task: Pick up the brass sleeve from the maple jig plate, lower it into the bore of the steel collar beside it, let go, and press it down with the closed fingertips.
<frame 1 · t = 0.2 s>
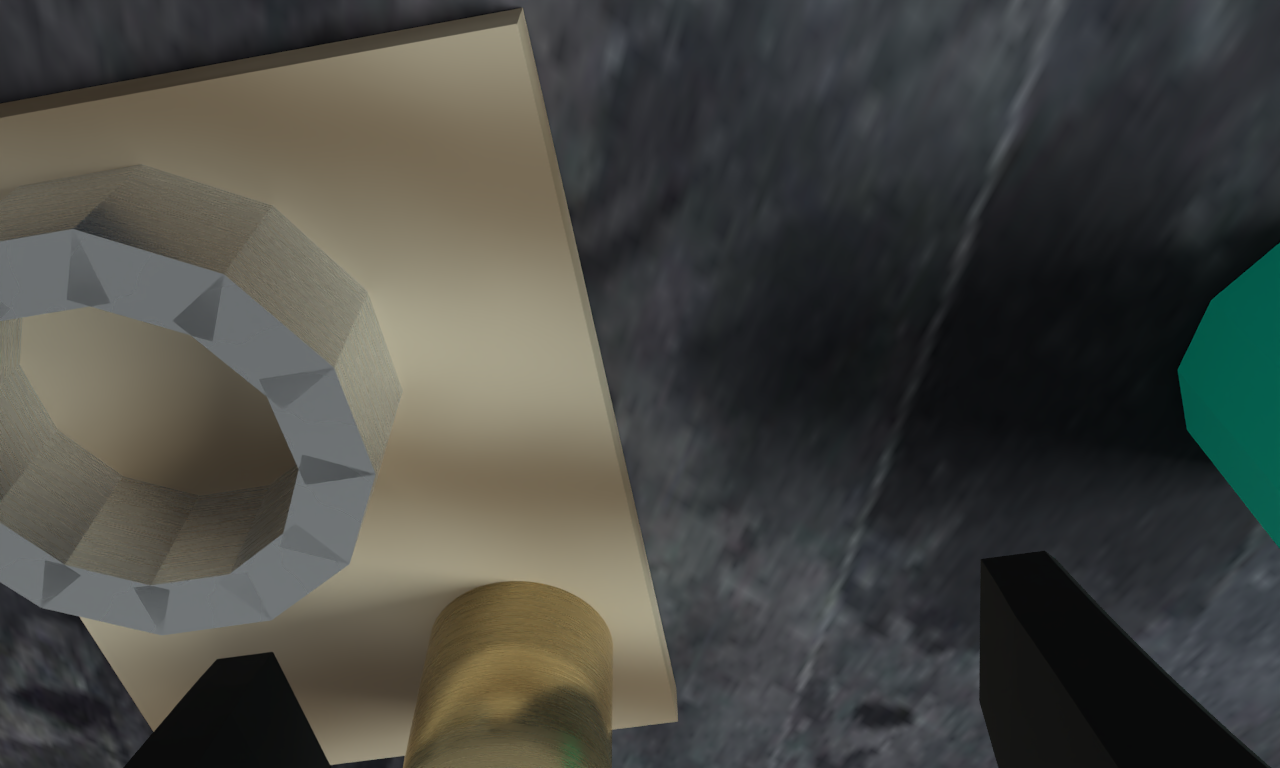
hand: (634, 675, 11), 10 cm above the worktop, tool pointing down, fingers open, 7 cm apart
brass sleeve: (521, 648, 23), point 1 cm above the worktop, touching jig plate
jig plate: (325, 460, 21), on the worktop
bore collar: (197, 347, 20), resting on jig plate
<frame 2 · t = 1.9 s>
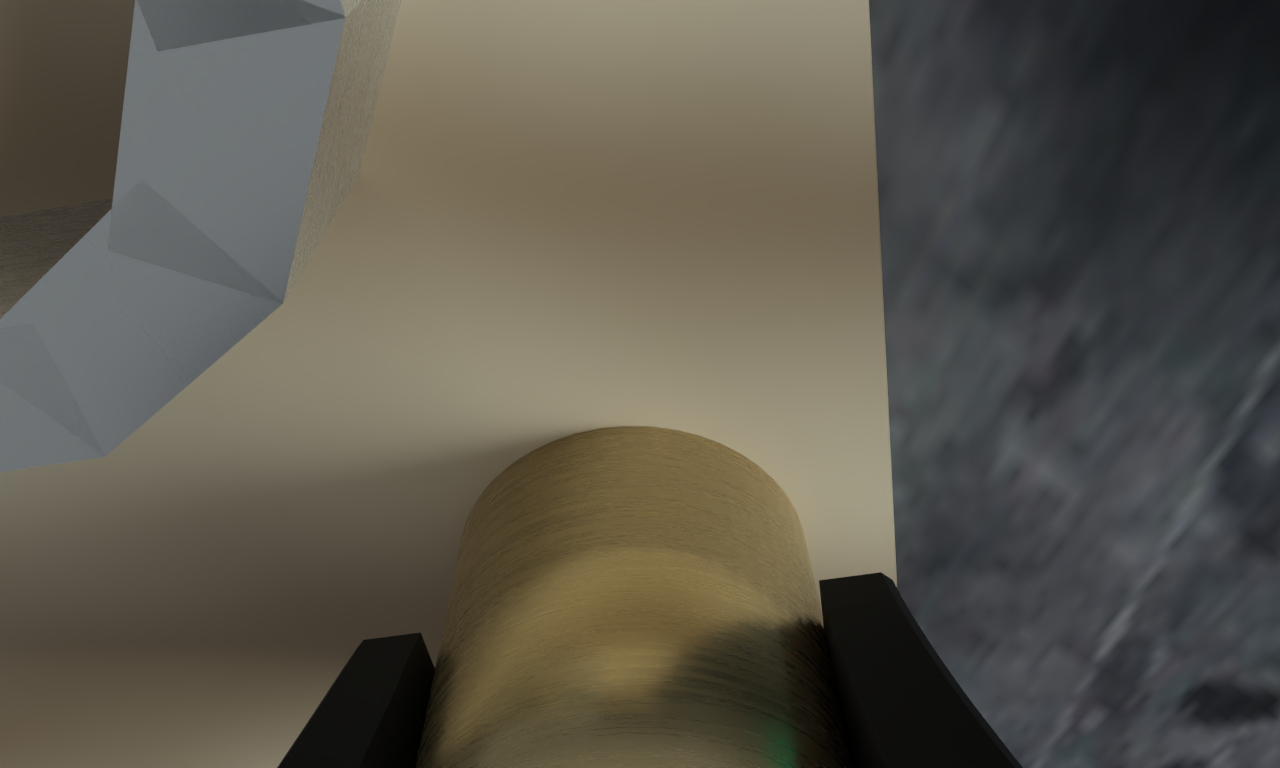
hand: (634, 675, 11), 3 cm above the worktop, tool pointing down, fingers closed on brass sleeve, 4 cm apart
brass sleeve: (633, 568, 12), point 1 cm above the worktop, touching gripper, jig plate
jig plate: (255, 172, 11), on the worktop
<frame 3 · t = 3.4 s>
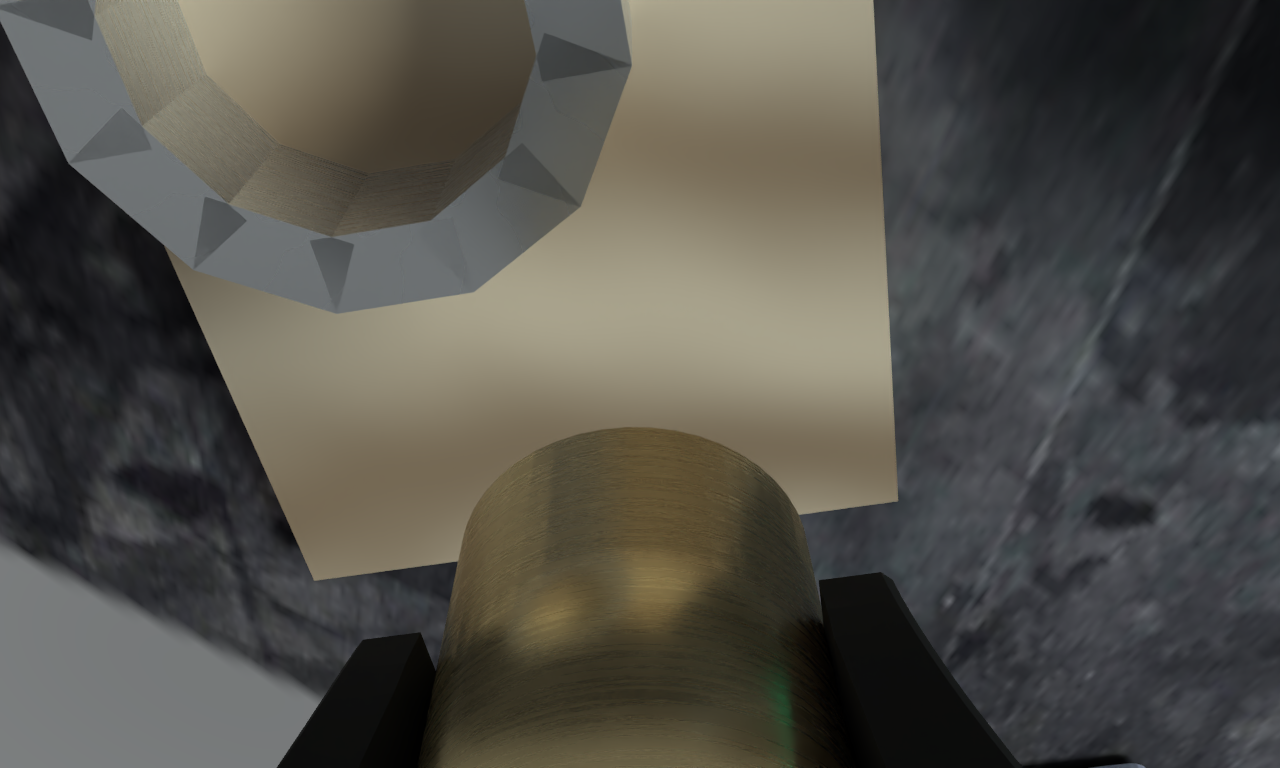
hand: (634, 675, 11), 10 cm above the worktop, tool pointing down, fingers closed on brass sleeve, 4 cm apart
brass sleeve: (634, 569, 12), point 8 cm above the worktop, touching gripper
jig plate: (512, 147, 18), on the worktop
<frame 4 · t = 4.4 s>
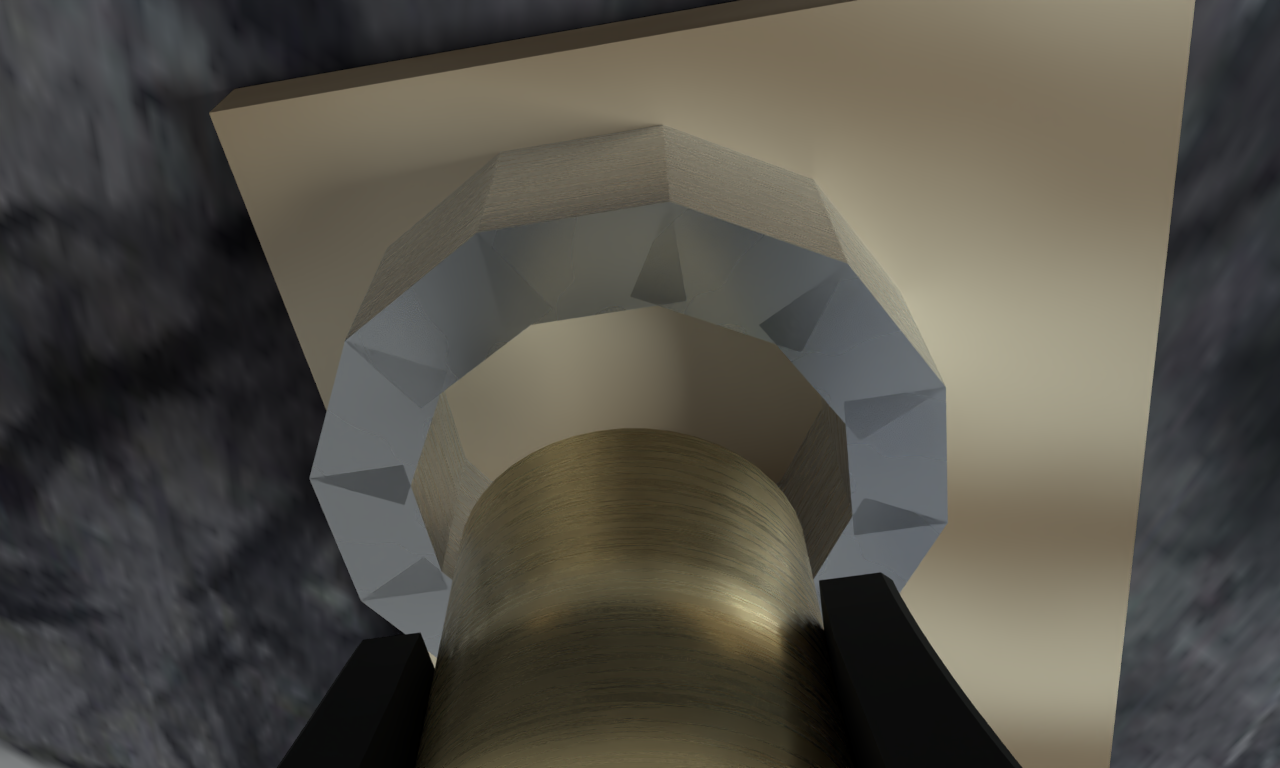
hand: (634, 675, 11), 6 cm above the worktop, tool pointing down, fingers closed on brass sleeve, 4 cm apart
brass sleeve: (633, 570, 12), point 5 cm above the worktop, touching gripper
jig plate: (751, 496, 18), on the worktop
bore collar: (633, 358, 16), resting on jig plate
when the fingers open (4 cm above the worktop, at t = 5.2 s): brass sleeve drops 2 cm, resting on jig plate.
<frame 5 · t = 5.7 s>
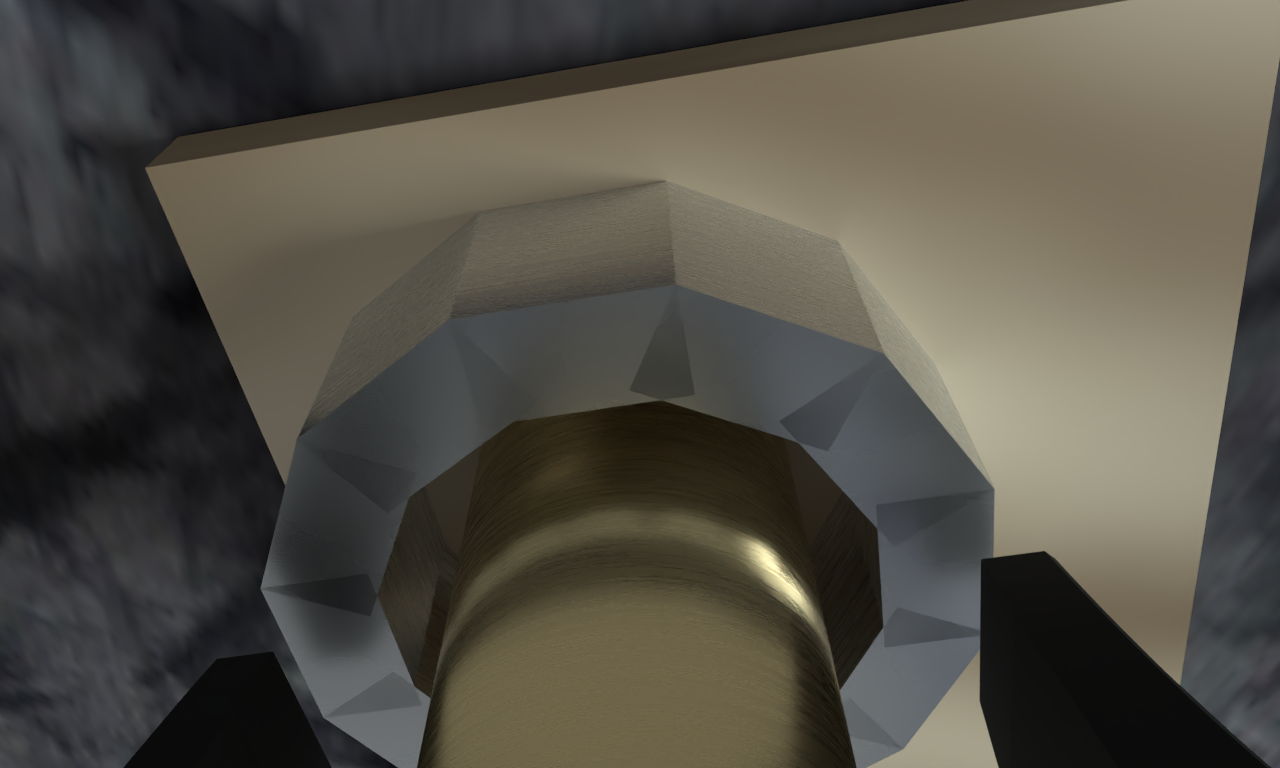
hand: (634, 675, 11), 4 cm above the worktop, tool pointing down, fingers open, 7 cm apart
brass sleeve: (633, 473, 14), point 1 cm above the worktop, touching jig plate
jig plate: (762, 575, 16), on the worktop
bore collar: (632, 429, 14), resting on jig plate
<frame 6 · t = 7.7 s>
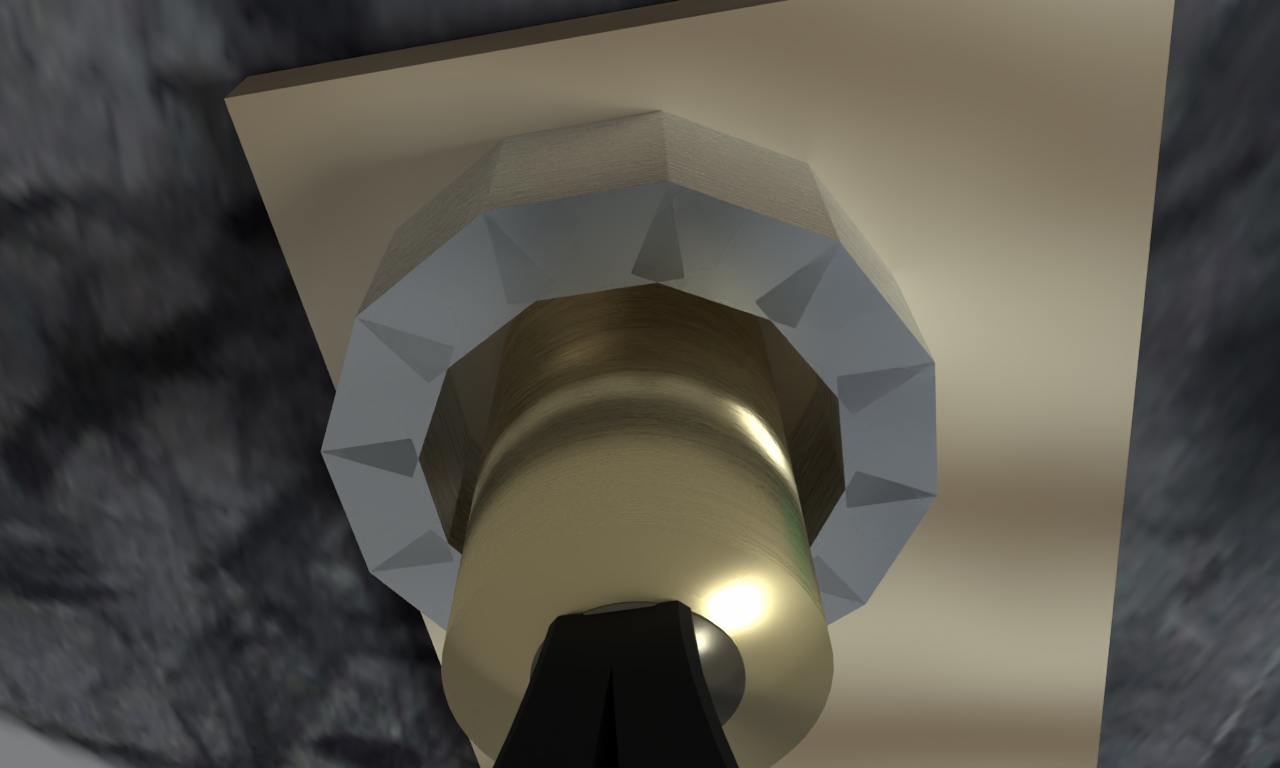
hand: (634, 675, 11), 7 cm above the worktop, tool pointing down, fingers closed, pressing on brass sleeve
brass sleeve: (634, 372, 16), point 1 cm above the worktop, touching gripper, jig plate
jig plate: (748, 476, 18), on the worktop
bore collar: (633, 340, 17), resting on jig plate
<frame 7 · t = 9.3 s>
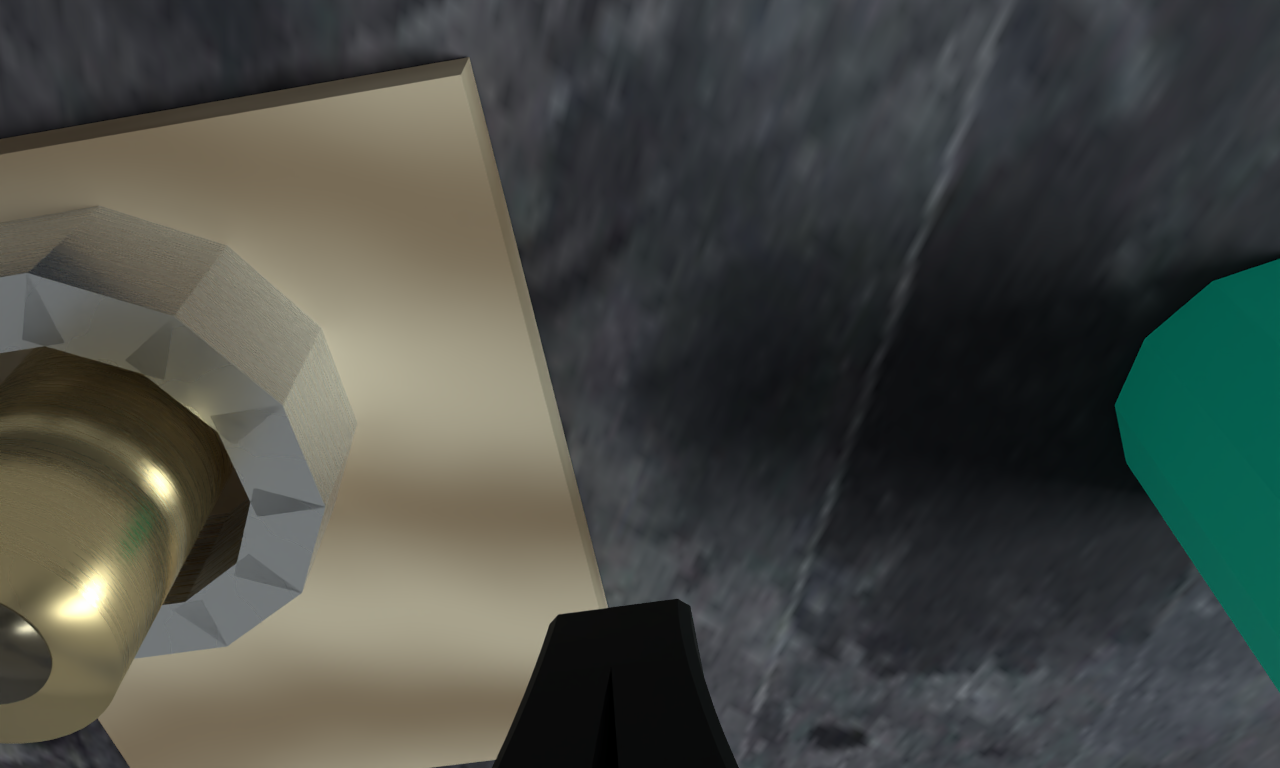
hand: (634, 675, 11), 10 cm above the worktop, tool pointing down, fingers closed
brass sleeve: (139, 407, 20), point 1 cm above the worktop, touching jig plate
jig plate: (285, 488, 22), on the worktop
candle: (1263, 382, 21), on the worktop
bore collar: (158, 378, 20), resting on jig plate
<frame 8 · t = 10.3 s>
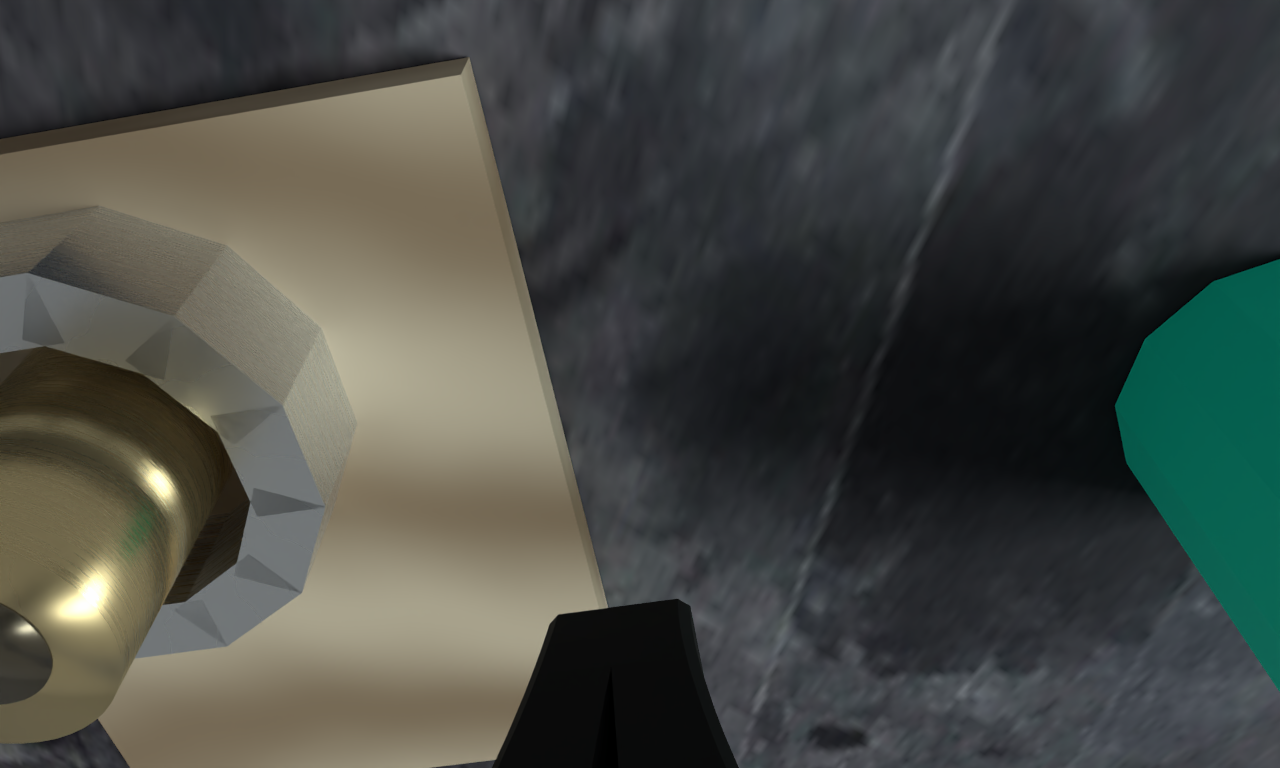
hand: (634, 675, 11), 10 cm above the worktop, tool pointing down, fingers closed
brass sleeve: (139, 407, 20), point 1 cm above the worktop, touching jig plate
jig plate: (285, 488, 22), on the worktop
candle: (1263, 383, 21), on the worktop
bore collar: (158, 378, 20), resting on jig plate
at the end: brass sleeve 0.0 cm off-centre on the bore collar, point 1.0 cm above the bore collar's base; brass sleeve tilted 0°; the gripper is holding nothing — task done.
